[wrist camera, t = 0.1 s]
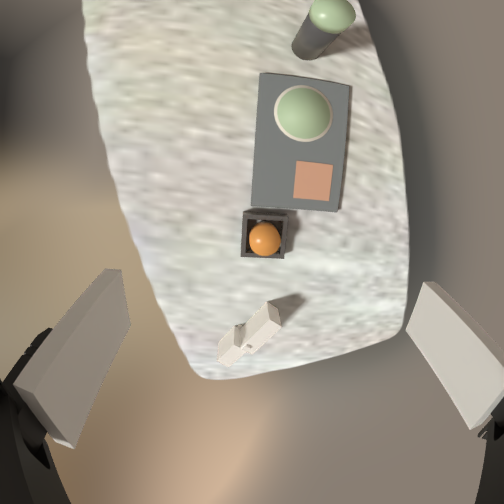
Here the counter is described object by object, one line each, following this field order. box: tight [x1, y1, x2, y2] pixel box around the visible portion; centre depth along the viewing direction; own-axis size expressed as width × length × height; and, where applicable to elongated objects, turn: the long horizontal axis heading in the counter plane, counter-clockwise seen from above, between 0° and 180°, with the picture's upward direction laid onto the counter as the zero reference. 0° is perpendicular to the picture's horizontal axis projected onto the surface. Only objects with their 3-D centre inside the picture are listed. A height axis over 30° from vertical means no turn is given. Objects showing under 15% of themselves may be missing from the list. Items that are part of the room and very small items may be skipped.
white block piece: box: [217, 302, 282, 367], centre depth 43 cm, size 15×11×6 cm
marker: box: [292, 0, 356, 60], centre depth 23 cm, size 4×4×13 cm
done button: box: [249, 222, 281, 256], centre depth 37 cm, size 4×4×2 cm
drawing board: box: [251, 73, 349, 212], centre depth 34 cm, size 18×12×1 cm, turn 176°
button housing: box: [241, 212, 288, 259], centre depth 38 cm, size 6×6×2 cm
